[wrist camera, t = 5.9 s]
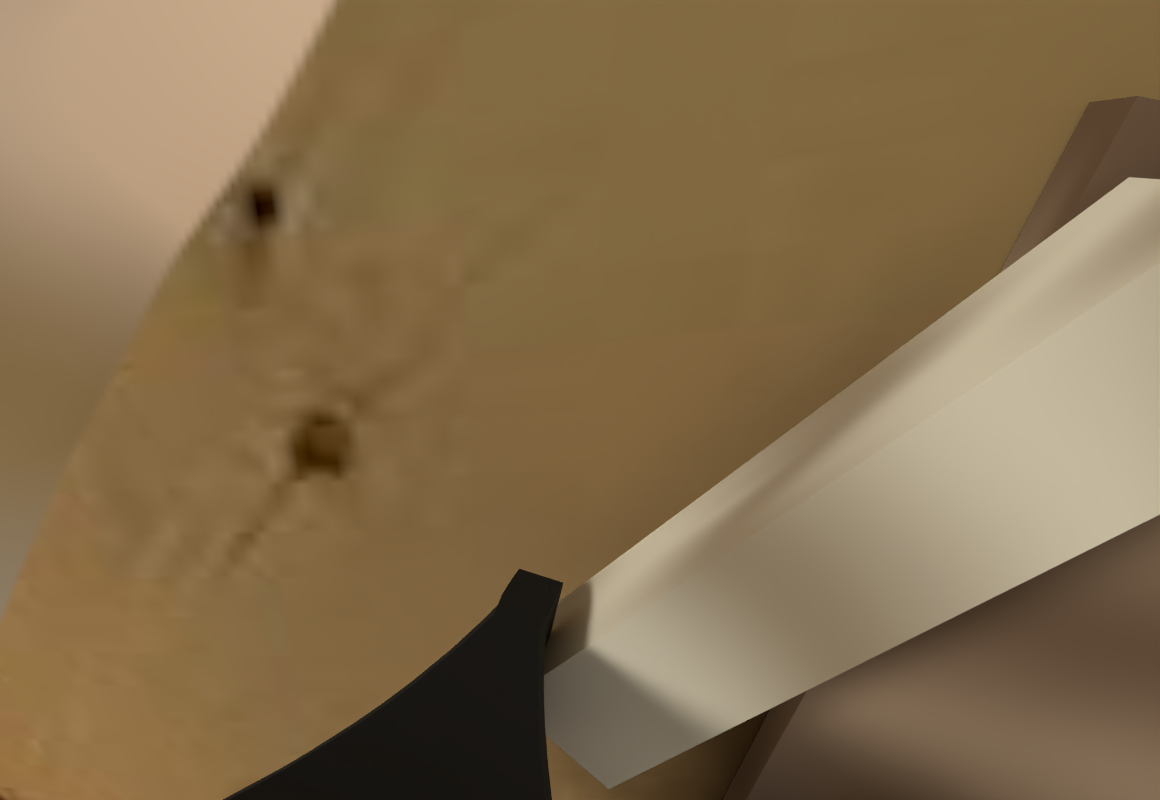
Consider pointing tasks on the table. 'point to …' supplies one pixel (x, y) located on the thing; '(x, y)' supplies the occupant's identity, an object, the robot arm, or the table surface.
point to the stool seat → (1004, 632)
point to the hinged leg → (884, 504)
